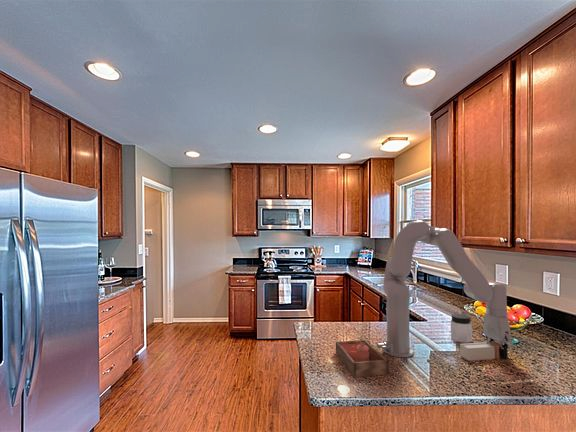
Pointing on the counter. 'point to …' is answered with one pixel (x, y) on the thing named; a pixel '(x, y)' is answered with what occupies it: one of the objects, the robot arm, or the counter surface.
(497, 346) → the stub
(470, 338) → the jar
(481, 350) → the beige box
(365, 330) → the counter surface
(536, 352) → the counter surface
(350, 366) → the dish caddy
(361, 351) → the pottery
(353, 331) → the counter surface
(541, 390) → the counter surface
